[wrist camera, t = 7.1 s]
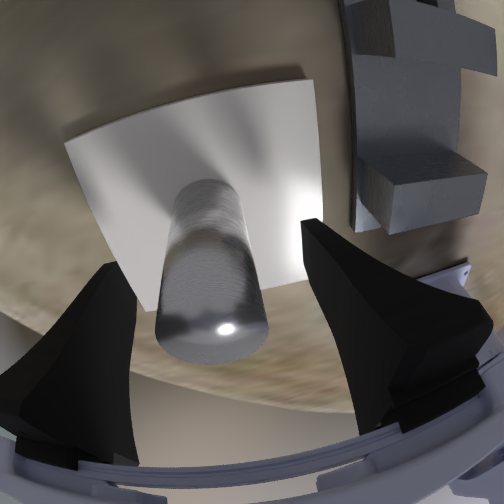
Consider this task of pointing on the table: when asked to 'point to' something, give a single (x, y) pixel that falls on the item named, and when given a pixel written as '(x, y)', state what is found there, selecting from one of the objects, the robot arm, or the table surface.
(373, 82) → the vise
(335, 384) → the table surface
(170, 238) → the steel pin
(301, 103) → the coaster
